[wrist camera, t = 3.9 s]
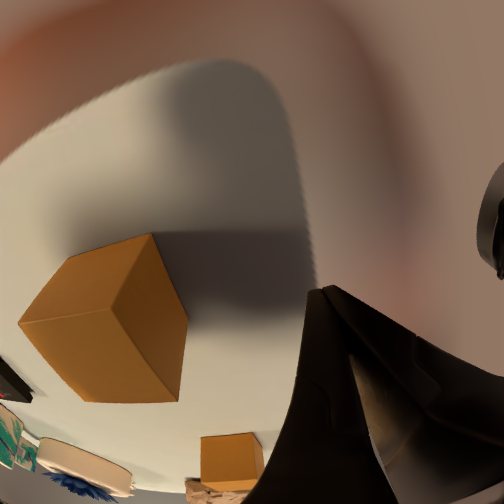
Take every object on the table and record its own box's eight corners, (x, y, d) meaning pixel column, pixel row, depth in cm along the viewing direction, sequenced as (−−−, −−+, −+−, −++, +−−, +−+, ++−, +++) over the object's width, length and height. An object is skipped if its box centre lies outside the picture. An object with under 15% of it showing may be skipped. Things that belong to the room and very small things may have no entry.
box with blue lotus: (15, 463, 17) (96, 504, 26) (76, 489, 16) (163, 518, 25) (24, 431, 23) (100, 477, 32) (85, 445, 22) (164, 486, 31)
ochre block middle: (200, 437, 19) (200, 482, 15) (252, 432, 19) (257, 479, 15) (216, 452, 21) (218, 491, 17) (262, 447, 21) (267, 487, 17)
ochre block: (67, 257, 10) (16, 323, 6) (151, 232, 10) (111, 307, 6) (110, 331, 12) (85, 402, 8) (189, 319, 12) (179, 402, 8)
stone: (246, 488, 31) (249, 512, 27) (178, 481, 28) (178, 508, 24) (275, 476, 28) (279, 505, 24) (196, 471, 25) (196, 503, 20)
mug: (-5, 397, 18) (-22, 446, 10) (51, 443, 23) (43, 486, 16) (-26, 392, 18) (-41, 433, 10) (24, 435, 24) (15, 473, 16)
